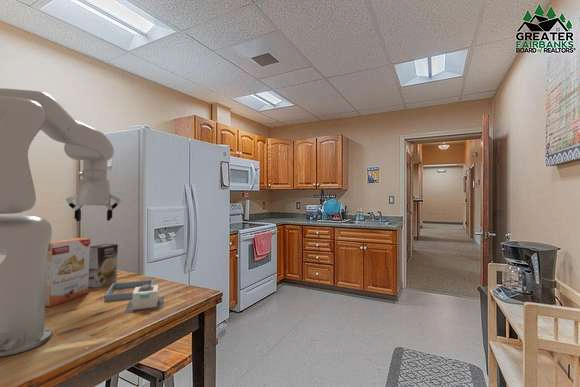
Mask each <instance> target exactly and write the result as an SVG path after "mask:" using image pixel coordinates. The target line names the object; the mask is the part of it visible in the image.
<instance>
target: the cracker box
mask: <svg viewBox="0 0 580 387" xmlns="http://www.w3.org/2000/svg"><path fill="white" fill-rule="evenodd" d="M90 246H91V238H86V237H85V238H84V237H78V238H77V237H76V238H69V239H64V240H55V241H50V244H49V248H48V253H47V260H46V282H45V308H46V307H48V308H50V307H54V306H56V305H60V304H62V303H65V302H67V301H70V300H74V299H76V298H79V297H81V296H85V295H87V294H89V287H88V279H89V256H90Z"/></svg>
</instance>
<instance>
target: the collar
mask: <svg viewBox="0 0 580 387" xmlns="http://www.w3.org/2000/svg"><path fill="white" fill-rule="evenodd" d="M132 292H133V298H132V300H133V302H132V310H135V309H142V308H150V307H157V302H158V297H159V284H156V285H155V284H154V285H153V286H151V288H150V291H143V292H142V289H141V287H135V288H133V291H132Z"/></svg>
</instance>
